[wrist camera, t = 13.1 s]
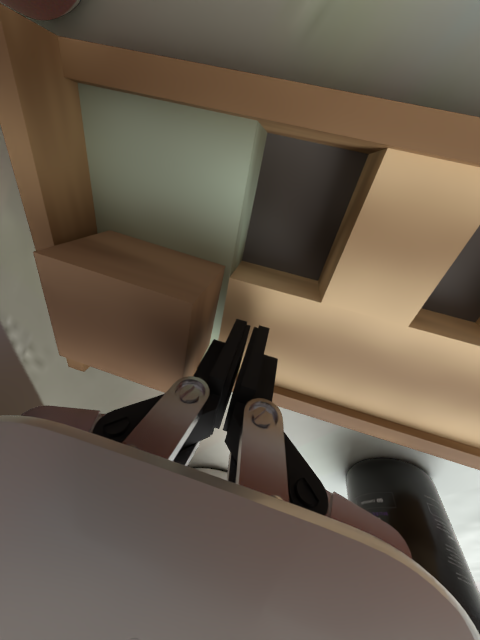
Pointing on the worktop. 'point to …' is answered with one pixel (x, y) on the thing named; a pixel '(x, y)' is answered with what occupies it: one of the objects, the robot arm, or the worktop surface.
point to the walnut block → (130, 306)
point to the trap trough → (273, 218)
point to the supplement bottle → (416, 522)
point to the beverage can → (42, 7)
